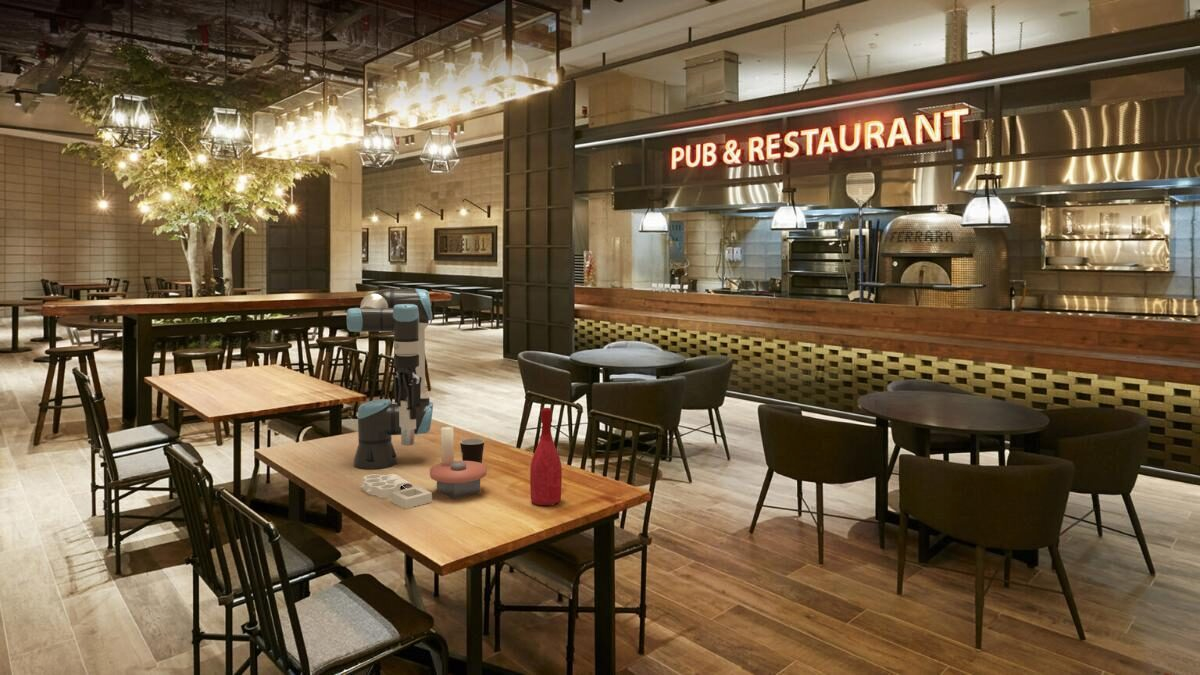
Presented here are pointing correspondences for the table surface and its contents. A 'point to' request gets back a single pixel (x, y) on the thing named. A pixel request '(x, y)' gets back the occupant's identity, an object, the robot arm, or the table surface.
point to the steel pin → (406, 435)
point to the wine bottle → (546, 466)
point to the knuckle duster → (383, 484)
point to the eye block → (411, 497)
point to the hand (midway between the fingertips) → (407, 427)
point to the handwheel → (455, 463)
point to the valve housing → (458, 489)
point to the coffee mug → (472, 450)
